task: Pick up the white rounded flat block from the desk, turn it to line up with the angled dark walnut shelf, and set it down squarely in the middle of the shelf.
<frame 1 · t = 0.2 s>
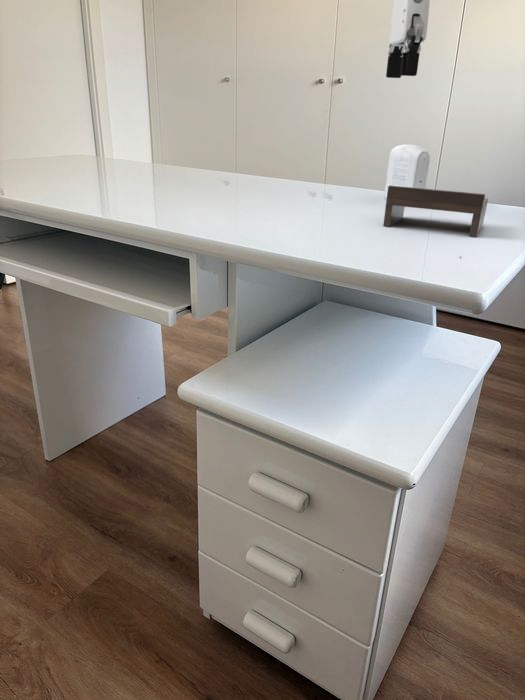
hand: (400, 76, 111), 25 cm above the table, tool pointing down, fingers open, 9 cm apart
shelf: (433, 226, 98), on the table
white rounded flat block: (402, 203, 122), on the table
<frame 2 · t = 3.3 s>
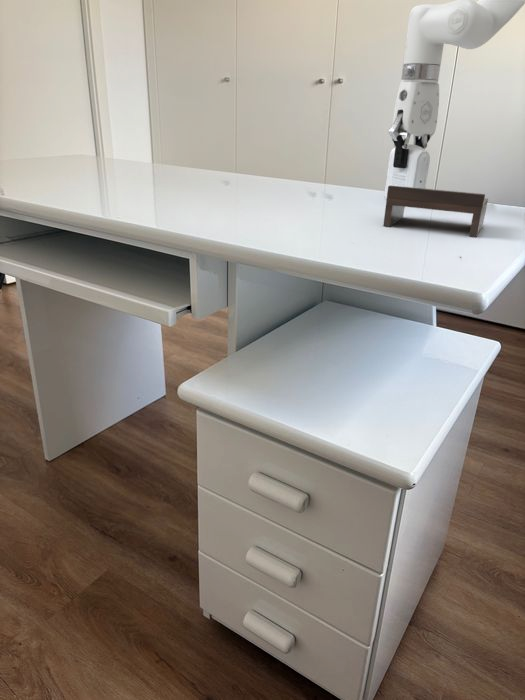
hand: (407, 166, 119), 8 cm above the table, tool pointing down, fingers closed on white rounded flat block, 5 cm apart
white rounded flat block: (402, 203, 122), on the table, touching gripper
when the fingers open (13 cm above the table, at t = 10.2 s): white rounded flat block stays where it is, resting on shelf.
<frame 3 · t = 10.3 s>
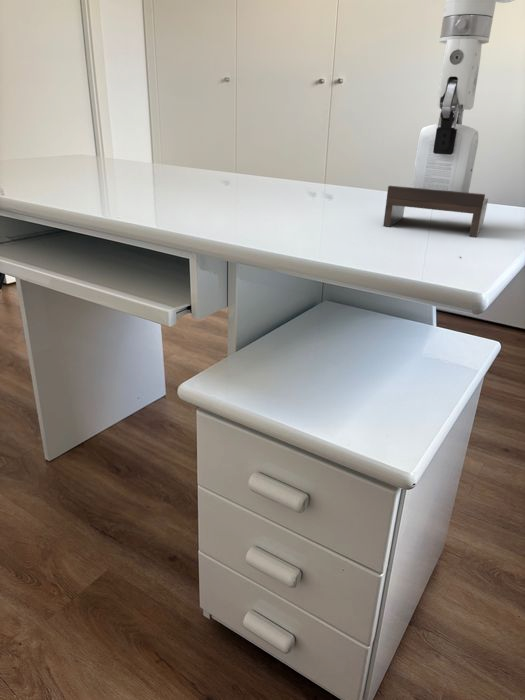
hand: (445, 151, 93), 13 cm above the table, tool pointing down, fingers open, 5 cm apart
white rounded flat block: (438, 199, 96), point 5 cm above the table, touching shelf
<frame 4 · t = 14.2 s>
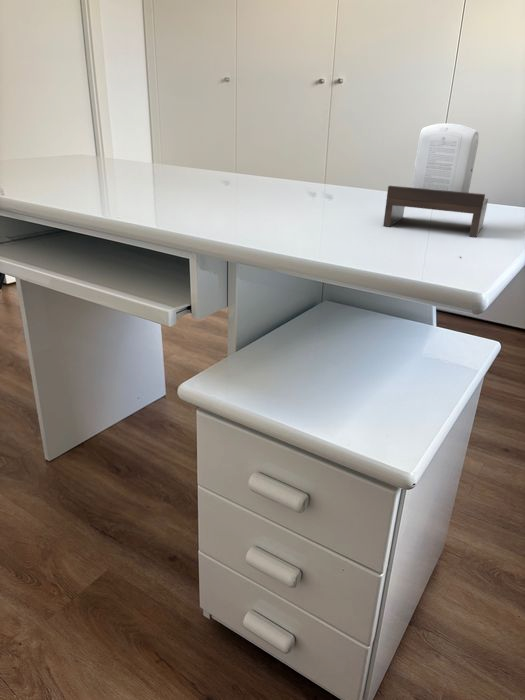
nothing on the table moved.
at the end: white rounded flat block inside the target area on the shelf (0.1 cm from its centre), point 4.8 cm above the shelf's base; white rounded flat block tilted 0°; the gripper is holding nothing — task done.
